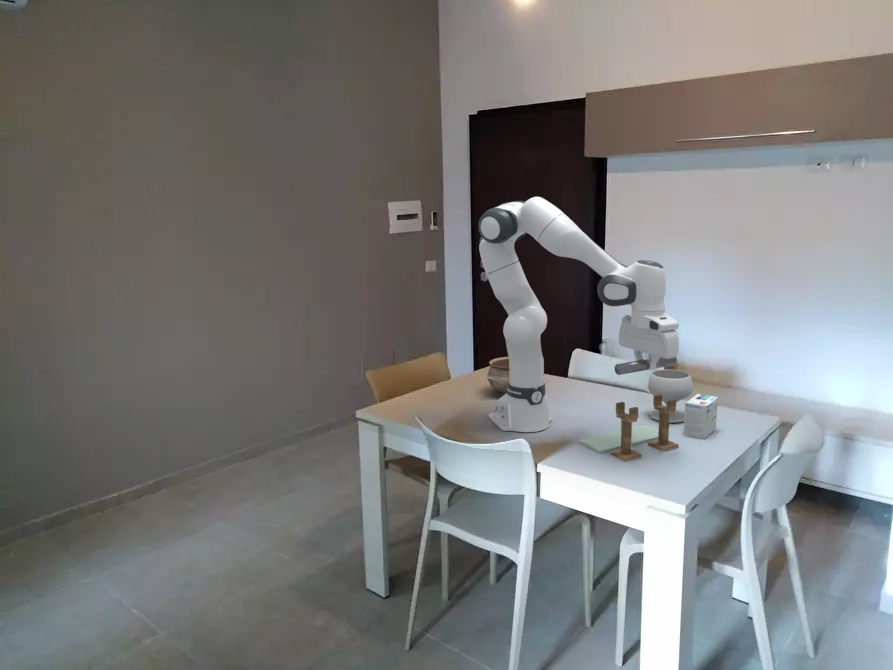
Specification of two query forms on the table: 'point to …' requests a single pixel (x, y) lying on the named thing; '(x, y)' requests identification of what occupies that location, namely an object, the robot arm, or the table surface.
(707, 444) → the table surface
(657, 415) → the chalice
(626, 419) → the hook stands
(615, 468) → the table surface
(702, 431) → the light bulb box
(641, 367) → the rail
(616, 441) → the mat
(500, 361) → the cooking pot
